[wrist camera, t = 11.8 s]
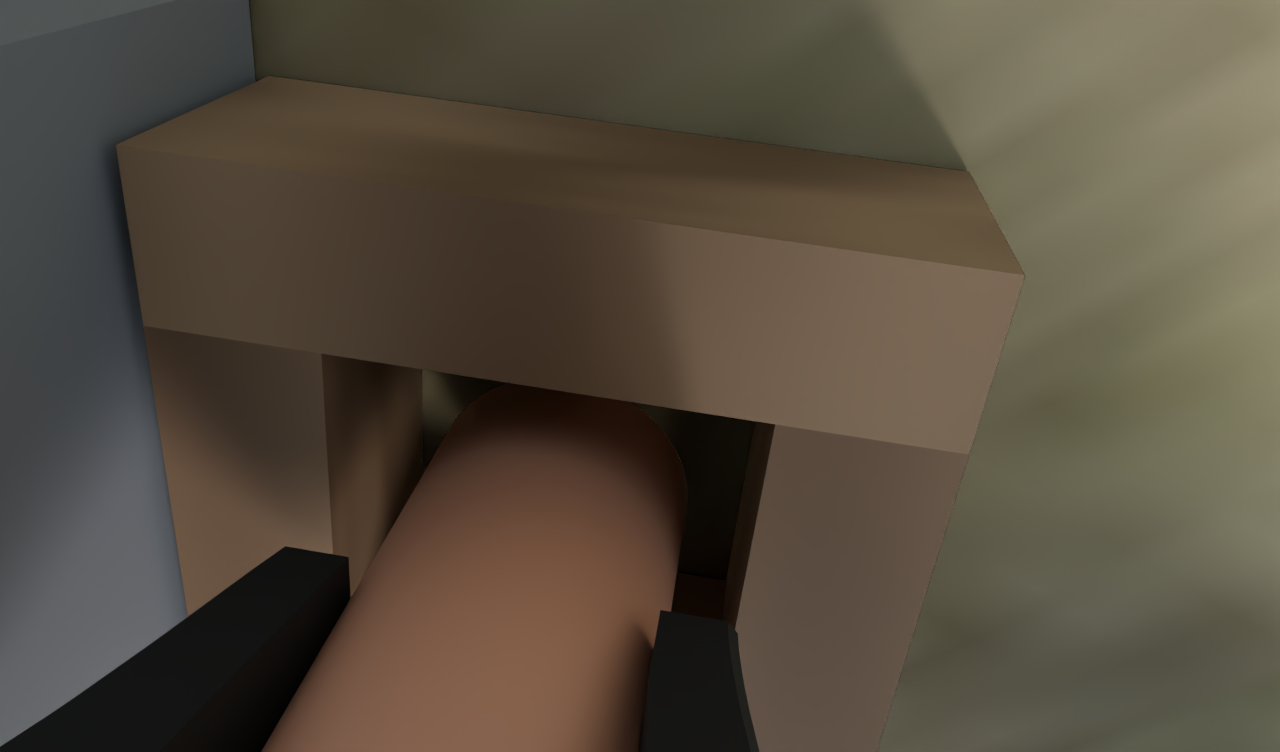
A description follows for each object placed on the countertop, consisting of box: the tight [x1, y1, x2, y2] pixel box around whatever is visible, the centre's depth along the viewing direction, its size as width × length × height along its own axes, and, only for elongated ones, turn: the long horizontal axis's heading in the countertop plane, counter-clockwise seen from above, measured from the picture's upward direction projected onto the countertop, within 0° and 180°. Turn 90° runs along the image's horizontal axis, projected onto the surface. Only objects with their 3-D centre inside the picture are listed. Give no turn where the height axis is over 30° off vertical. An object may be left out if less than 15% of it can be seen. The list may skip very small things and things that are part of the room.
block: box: [116, 76, 1025, 752], centre depth 12 cm, size 8×8×3 cm
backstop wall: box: [0, 0, 255, 746], centre depth 11 cm, size 2×10×6 cm, turn 174°
